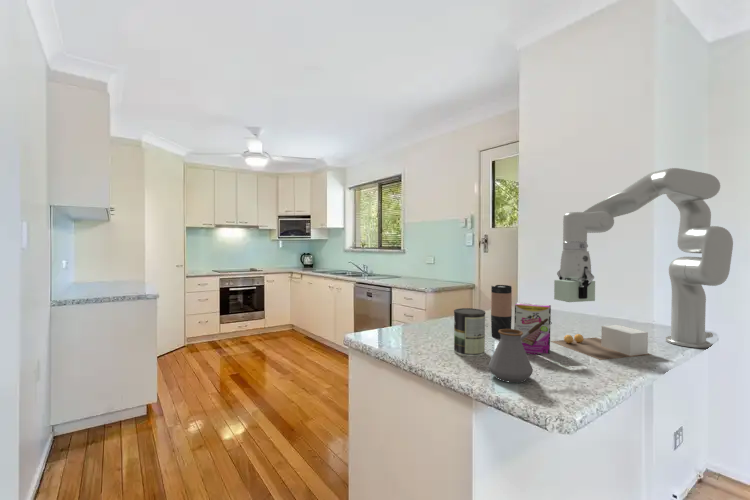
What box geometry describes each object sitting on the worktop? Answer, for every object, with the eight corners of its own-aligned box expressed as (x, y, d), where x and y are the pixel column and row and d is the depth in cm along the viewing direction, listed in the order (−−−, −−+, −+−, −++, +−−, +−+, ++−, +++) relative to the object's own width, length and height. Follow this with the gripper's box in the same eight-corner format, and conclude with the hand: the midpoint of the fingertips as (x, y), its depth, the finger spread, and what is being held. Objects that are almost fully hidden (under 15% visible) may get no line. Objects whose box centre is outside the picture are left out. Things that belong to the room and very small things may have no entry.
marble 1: (568, 341, 135) (569, 333, 135) (575, 344, 132) (575, 335, 132) (561, 342, 134) (562, 334, 134) (568, 344, 132) (568, 336, 131)
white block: (601, 346, 130) (601, 326, 129) (617, 344, 131) (617, 324, 131) (630, 355, 119) (630, 333, 119) (647, 353, 121) (647, 332, 121)
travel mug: (512, 339, 142) (513, 287, 141) (491, 338, 143) (492, 286, 143) (509, 334, 149) (510, 285, 149) (489, 334, 151) (490, 284, 150)
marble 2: (579, 341, 136) (579, 332, 136) (585, 343, 133) (585, 334, 133) (572, 341, 136) (572, 333, 136) (578, 343, 133) (578, 335, 133)
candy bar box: (513, 352, 126) (514, 304, 125) (514, 348, 130) (515, 302, 130) (550, 357, 121) (550, 306, 120) (550, 352, 125) (550, 304, 125)
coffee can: (449, 354, 125) (449, 311, 124) (459, 346, 133) (459, 307, 133) (480, 359, 119) (480, 315, 119) (488, 350, 128) (488, 309, 128)
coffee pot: (511, 389, 95) (511, 330, 95) (479, 374, 105) (479, 321, 105) (566, 375, 105) (566, 321, 104) (532, 363, 115) (532, 314, 115)
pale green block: (579, 297, 138) (579, 279, 138) (594, 300, 132) (595, 281, 131) (554, 299, 136) (554, 280, 135) (568, 302, 129) (569, 282, 129)
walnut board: (595, 340, 141) (595, 337, 141) (652, 357, 120) (652, 354, 120) (549, 343, 136) (549, 341, 136) (600, 363, 115) (600, 359, 115)
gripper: (604, 247, 126) (603, 300, 126) (565, 246, 142) (565, 293, 143) (585, 247, 124) (585, 301, 124) (548, 246, 141) (548, 294, 141)
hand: (574, 296), depth 134 cm, fingers closed on pale green block, 7 cm apart
